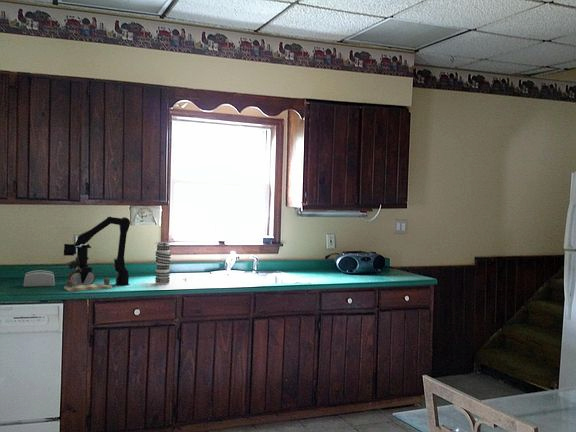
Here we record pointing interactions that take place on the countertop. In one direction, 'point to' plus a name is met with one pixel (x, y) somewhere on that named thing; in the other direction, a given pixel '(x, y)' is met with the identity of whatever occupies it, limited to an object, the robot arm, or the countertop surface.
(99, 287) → the tan long piece
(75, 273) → the tin
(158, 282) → the decorative candle
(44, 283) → the grey arched block
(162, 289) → the countertop surface
